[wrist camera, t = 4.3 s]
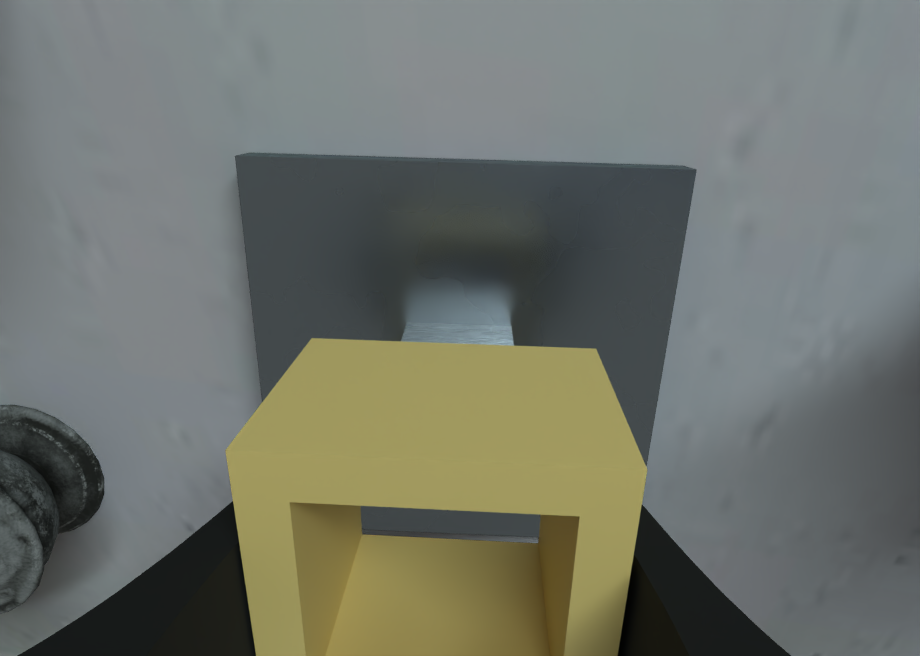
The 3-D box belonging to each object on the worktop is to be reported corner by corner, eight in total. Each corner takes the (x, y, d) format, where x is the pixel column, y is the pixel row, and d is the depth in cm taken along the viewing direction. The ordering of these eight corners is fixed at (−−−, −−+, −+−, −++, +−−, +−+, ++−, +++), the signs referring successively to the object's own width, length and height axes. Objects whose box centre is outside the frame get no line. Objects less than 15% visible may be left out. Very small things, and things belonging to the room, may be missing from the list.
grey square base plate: (683, 165, 16) (745, 185, 12) (626, 521, 20) (659, 615, 16) (248, 152, 16) (179, 167, 12) (285, 506, 21) (241, 595, 17)
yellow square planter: (596, 348, 11) (659, 498, 7) (571, 572, 13) (607, 795, 9) (311, 338, 12) (205, 476, 7) (329, 560, 14) (254, 771, 9)
